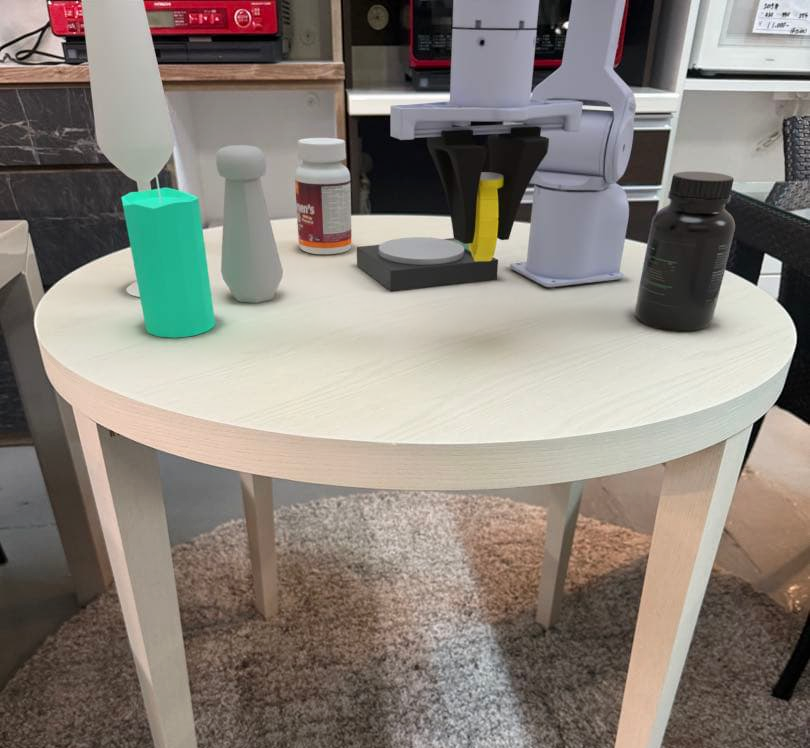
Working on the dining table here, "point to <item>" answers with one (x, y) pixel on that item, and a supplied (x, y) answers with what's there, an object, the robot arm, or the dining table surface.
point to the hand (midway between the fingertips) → (480, 238)
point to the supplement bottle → (687, 253)
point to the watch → (486, 217)
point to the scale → (423, 263)
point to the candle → (169, 261)
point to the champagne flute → (127, 91)
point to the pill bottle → (323, 197)
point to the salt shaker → (247, 227)
